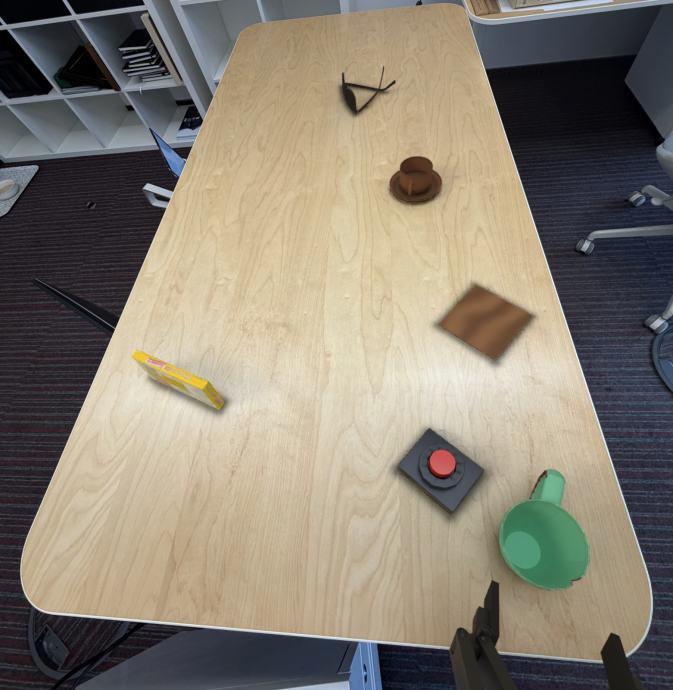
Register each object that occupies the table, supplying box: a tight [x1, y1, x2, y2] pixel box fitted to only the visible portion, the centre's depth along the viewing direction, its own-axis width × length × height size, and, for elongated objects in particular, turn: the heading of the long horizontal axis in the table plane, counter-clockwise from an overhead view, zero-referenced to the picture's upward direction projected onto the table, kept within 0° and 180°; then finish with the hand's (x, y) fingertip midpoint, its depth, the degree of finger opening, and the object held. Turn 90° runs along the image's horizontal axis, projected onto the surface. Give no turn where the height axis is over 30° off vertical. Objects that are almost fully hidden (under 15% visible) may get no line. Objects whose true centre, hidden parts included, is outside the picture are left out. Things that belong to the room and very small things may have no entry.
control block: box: [397, 427, 485, 515], centre depth 62 cm, size 10×8×4 cm
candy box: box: [130, 349, 225, 411], centre depth 73 cm, size 16×2×8 cm, turn 64°
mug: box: [498, 468, 591, 591], centre depth 54 cm, size 15×10×10 cm
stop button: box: [429, 450, 456, 477], centre depth 60 cm, size 4×4×2 cm
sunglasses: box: [341, 65, 397, 114], centre depth 119 cm, size 17×14×5 cm
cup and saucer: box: [389, 155, 443, 203], centre depth 95 cm, size 12×12×6 cm
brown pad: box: [438, 284, 533, 361], centre depth 76 cm, size 12×12×1 cm
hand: (548, 616), depth 42 cm, fingers open, 10 cm apart
